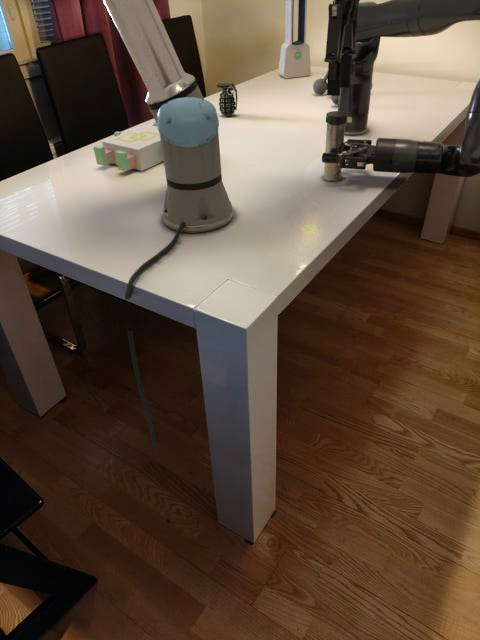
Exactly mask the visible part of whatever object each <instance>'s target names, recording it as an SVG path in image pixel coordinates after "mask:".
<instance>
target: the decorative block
mask: <svg viewBox="0 0 480 640" xmlns="http://www.w3.org/2000/svg"><path fill="white" fill-rule="evenodd" d="M101 145H102V146H100V145H95V146H92V148H93V152H94V153H93V154H94V156H95V161H96V164H97V165H100V166H103V167H104V166H106V165H109V164H112V165H116V166H117V169H118V170H119V171H122V172H123V171H124V172H128V171H129V170H137V171H141V172H143V171H145V170H147V169H150V168H152V167H153V166H156V165H158V164H160V163H162V162H164V160H163V153H162V146H161V140H160V133H159V131H158V126H157V123H156V121H155V122H154V123H152V124H148V125H146V126H143V125H141V126H139V127H135V128H133V129H130V130H127V131H125V132H123V133H122V131H115V132H113V136H112V137H110V138H107V139H105V140H102V141H101Z"/></svg>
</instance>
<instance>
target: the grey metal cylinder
mask: <svg viewBox="0 0 480 640" xmlns="http://www.w3.org/2000/svg"><path fill="white" fill-rule="evenodd" d="M344 133H345V123H344V124H339V125H334V124H328V123H327V122H326V133H325V135H326V137H325V152H326V153H343V145H344V142H345V134H344ZM338 155H339V154H338ZM342 169H343V168H340V165H338V163H324V168H323V180H325V181H327V182H338V181H341V180H342Z"/></svg>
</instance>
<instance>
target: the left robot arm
mask: <svg viewBox="0 0 480 640" xmlns="http://www.w3.org/2000/svg"><path fill="white" fill-rule="evenodd" d="M102 1H103V4H104V5H105V7H106V9H107V12H108V13H109V16H110V17H111V18H112V21H113V23H114V25H115V28H116V29H117V31H118V33H119V35H120V37H121V39H122V42H123V43H124V45H125V47H126V49H127V52H128V53H129V55H130V57H131V59H132V61H133V63H134V65H135V68H136V69H137V71H138V74H139V75H140V77H141V79H142V82H143V84H144V85H145V87H146V89H147V94H146V97H145V103H146V105H147V107H148V109H149V111H150V114H151V115H152V117H153V120H154V121H155V122H156V123H157V126H158V131H159V133H160V140H161V146H162V153H163V160H164V161H163V168H164V174H165V180H166V190H165V191H166V192H165V196H164V203H163V207H162V218H163V222H164V224H165V226H167V227H168V228H169V229H171V230H173V231H176V233H175V234H174V236H173V238H172V240H171V241H170V243H168V245H166V246H165V247H164V248H163V249H161V250H160V251H159V252H158V253H157V254H155V255H154V256H152V257H151V258H149V259H148V260H147V261H145V262H144V263H142V264H141V265H140V266H139V267H138V268H137V269H136V270H135V272H134V273H133V274H132V275H131V276H130V278H129V279H128V282H127V285H126V291H125V296H124V300H129V299H131V296H132V290H133V285H134V283H135V280H136V279H137V278H138V277H139V276H140V274H142V272H143V271H144V270H145V269H146V268H148V267H149V266H151V265H152V264H153V263H155V262H156V261H158V260H159V259H160V258H162V257H163V256H164V255H165V254H166V253H167V252H169V251H170V250H171V249H172V248H173V247H174V246H175V245H176V243H177V242H178V240H179V238H180V235H181V234H182V233H190V234H191V233H192V234H193V233H194V234H195V233H196V234H197V233H205V232H206V233H207V232H210V231H215V230H216V229H220V228H222V227H224V226H226V225H227V224H228V223H230V221H231V220H232V218H233V216H234V212H233V211H234V210H233V205H232V201H231V200H230V197H229V195H228V192H227V190H226V187H225V184H224V182H223V175H222V174H223V173H222V164H221V163H222V161H221V147H220V134H219V127H220V121H219V120H220V119H219V117H218V114H217V109H216V106H215V105H214V104H213V103H212V102H211V101H209V100H207V99H204V96H203V93H202V91H201V89H200V87H199V84H198V83H197V80H196V78H195V76H194V75H193V74H190V73H188V72H185V70H184V68H183V66H182V64H181V62H180V59H179V57H178V55H177V52H176V50H175V48H174V45H173V43H172V41H171V39H170V36H169V35H168V31H167V29H166V27H165V25H164V23H163V20H162V18H161V15H160V13H159V11H158V9H157V7H156V4H155V3H154V0H102ZM359 3H360V0H332V3H329V4H328V8H327V9H328V21H327V34H326V45H325V56H324V59H323V60H324V63H328V67H327V72H328V79H327V90H326V96H339V95H340V87H342V88H349V87H350V76H351V64H352V55H351V54H355V55H356V52H357V50H355V48H356V34H357V18H358V6H359ZM342 54H343V55H342ZM126 331H127V338H128V339H127V340H128V346H129V351H130V357H131V362H132V367H133V371H134V372H133V373H134V376H135V377H134V378H135V380H136V384H137V388H138V392H139V397H140V400H141V404H142V407H143V408H142V409H143V412H144V415H145V418H146V422H147V427H148V430H149V434H150V438H151V441H152V445H153V450H154V454H155V457H156V458H159V457H160V455H161V454H160V451H159V446H158V441H157V437H156V434H155V430H154V426H153V425H154V424H153V422H152V418H151V415H150V414H151V413H150V410H149V406H148V403H147V399H146V395H145V391H144V390H145V389H144V386H143V383H142V377H141V373H140V370H139V369H140V368H139V365H138V359H137V354H136V348H135V341H134V334H133V333H134V332H133V331H131V330H126Z"/></svg>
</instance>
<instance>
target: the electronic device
mask: <svg viewBox="0 0 480 640" xmlns="http://www.w3.org/2000/svg"><path fill="white" fill-rule="evenodd" d="M297 4H298V6H297V7H298V8H297V12H298V13H297V40H294V13H295V12H294V5H295V0H285V15H284V16H285V18H284V19H285V25H284V26H285V29H284V32H285V36H284V37H285V38H284V42H283V43H282V45H281V46H280V55H279V63H278V73H279V75H280V76H281V77H283V78H285V79H292V78H301V77H309V75H310V74H311V72H312V71H311V70H312V69H311V49H310V45H309V44H308V43H307V14H308V13H307V11H308V10H307V9H308V0H298V3H297Z"/></svg>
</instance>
